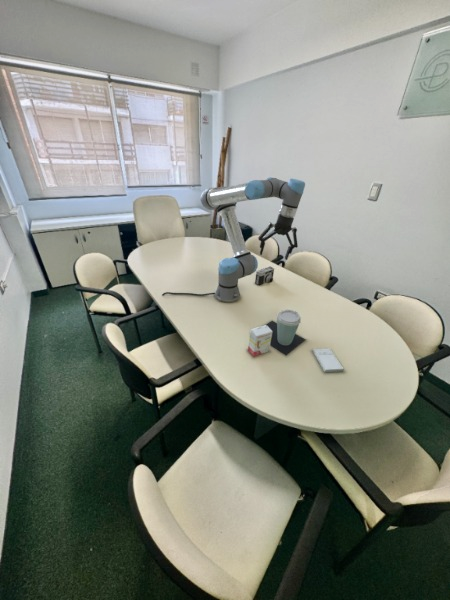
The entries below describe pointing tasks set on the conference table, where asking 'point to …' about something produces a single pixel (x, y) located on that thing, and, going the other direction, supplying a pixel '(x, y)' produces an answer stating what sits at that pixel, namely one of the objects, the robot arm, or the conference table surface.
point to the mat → (282, 348)
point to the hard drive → (328, 360)
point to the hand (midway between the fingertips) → (273, 256)
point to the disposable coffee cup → (287, 326)
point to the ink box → (260, 340)
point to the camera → (264, 276)
